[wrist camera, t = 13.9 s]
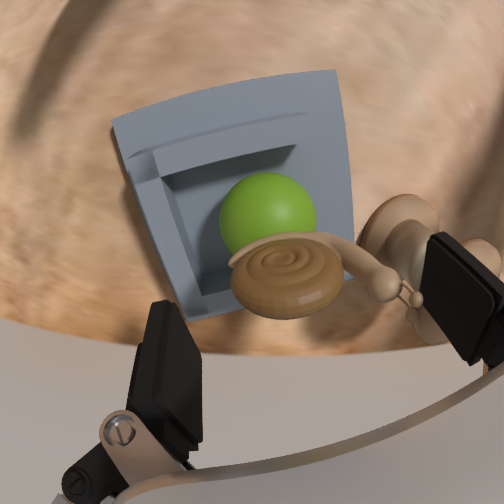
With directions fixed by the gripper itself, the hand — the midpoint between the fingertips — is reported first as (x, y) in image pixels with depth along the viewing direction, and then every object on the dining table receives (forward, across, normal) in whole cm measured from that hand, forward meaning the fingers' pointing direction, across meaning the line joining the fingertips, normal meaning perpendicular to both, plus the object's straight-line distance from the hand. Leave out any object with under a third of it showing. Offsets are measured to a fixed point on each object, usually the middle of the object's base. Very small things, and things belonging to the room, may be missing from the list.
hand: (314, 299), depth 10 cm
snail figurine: (+10, 0, 0) cm, 10 cm away
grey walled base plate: (+11, +1, 0) cm, 11 cm away
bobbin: (+12, -11, +6) cm, 17 cm away
